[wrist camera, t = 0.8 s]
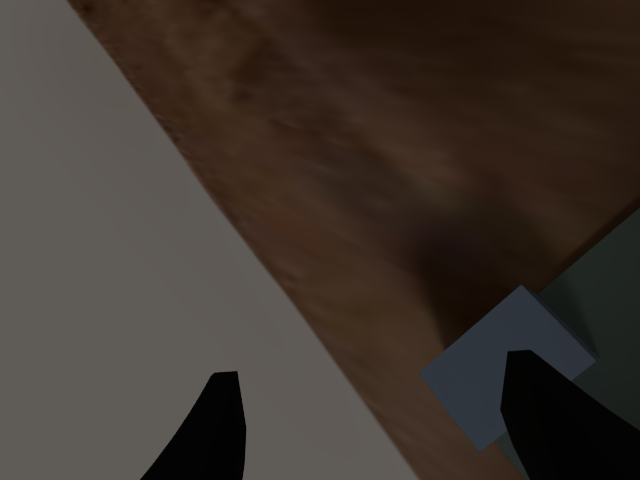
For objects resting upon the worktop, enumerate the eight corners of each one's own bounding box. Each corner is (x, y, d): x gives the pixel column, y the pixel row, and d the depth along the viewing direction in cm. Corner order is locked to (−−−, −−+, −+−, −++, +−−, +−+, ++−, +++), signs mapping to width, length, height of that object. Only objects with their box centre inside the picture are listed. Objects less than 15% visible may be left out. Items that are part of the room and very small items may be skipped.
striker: (600, 358, 24) (596, 360, 20) (502, 434, 26) (479, 452, 22) (537, 294, 26) (521, 284, 22) (449, 369, 28) (418, 373, 23)
